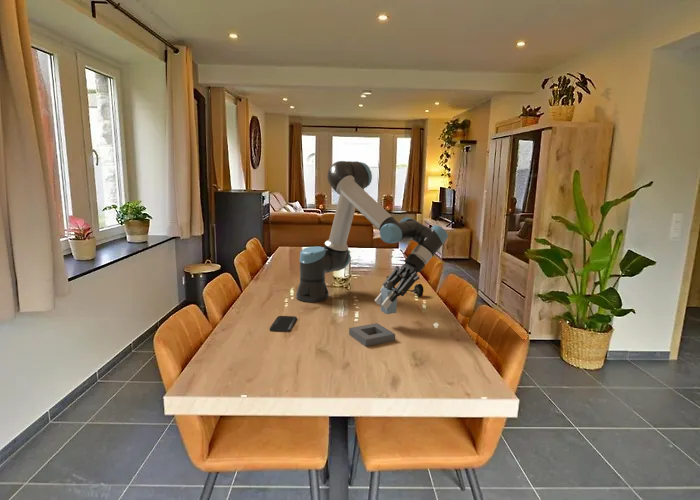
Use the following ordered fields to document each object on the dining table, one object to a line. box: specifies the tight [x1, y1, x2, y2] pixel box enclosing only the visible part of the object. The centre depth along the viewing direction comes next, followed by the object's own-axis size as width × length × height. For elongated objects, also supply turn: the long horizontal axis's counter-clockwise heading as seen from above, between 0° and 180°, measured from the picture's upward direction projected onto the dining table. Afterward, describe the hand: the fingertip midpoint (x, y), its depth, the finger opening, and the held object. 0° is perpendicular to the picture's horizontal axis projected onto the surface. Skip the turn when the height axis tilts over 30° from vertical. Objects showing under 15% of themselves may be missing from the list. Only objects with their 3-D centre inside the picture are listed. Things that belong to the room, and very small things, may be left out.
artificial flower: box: [379, 275, 424, 298], centre depth 209 cm, size 9×22×10 cm, turn 50°
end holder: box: [348, 322, 396, 347], centre depth 152 cm, size 12×12×2 cm
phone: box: [269, 315, 298, 333], centre depth 164 cm, size 8×1×15 cm
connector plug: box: [380, 281, 398, 315], centre depth 162 cm, size 4×4×12 cm
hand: (380, 304), depth 161 cm, fingers closed on connector plug, 4 cm apart
